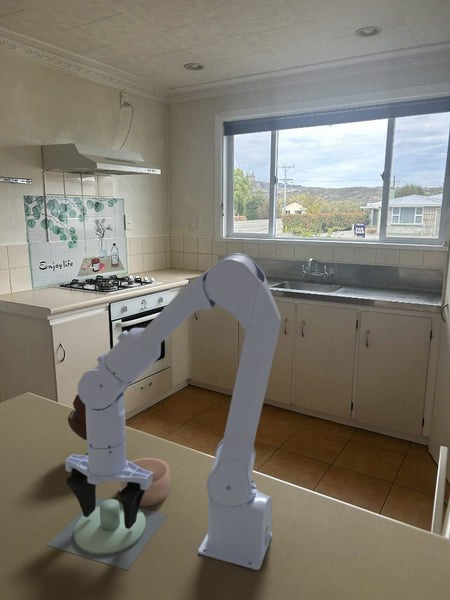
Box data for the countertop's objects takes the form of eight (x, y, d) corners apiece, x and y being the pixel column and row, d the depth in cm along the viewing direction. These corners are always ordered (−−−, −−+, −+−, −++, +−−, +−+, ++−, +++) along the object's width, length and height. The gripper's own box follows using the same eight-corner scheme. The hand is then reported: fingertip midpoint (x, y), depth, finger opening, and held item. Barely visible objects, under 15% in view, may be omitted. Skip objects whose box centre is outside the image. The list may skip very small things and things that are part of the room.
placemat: (168, 516, 75) (168, 514, 75) (127, 571, 64) (127, 570, 63) (97, 497, 80) (97, 496, 80) (47, 546, 68) (47, 545, 68)
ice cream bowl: (112, 474, 87) (109, 401, 84) (59, 467, 89) (55, 396, 86) (133, 446, 97) (131, 381, 94) (86, 441, 99) (82, 376, 97)
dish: (178, 482, 85) (178, 463, 84) (155, 511, 76) (154, 490, 75) (136, 473, 87) (135, 454, 87) (109, 500, 79) (108, 479, 78)
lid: (157, 515, 75) (157, 492, 74) (121, 562, 65) (120, 536, 64) (101, 501, 79) (100, 479, 78) (58, 544, 68) (57, 518, 68)
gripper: (49, 443, 67) (55, 523, 70) (134, 462, 63) (136, 547, 65) (79, 423, 74) (83, 497, 76) (158, 438, 69) (159, 517, 72)
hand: (109, 518), depth 71 cm, fingers open, 7 cm apart
